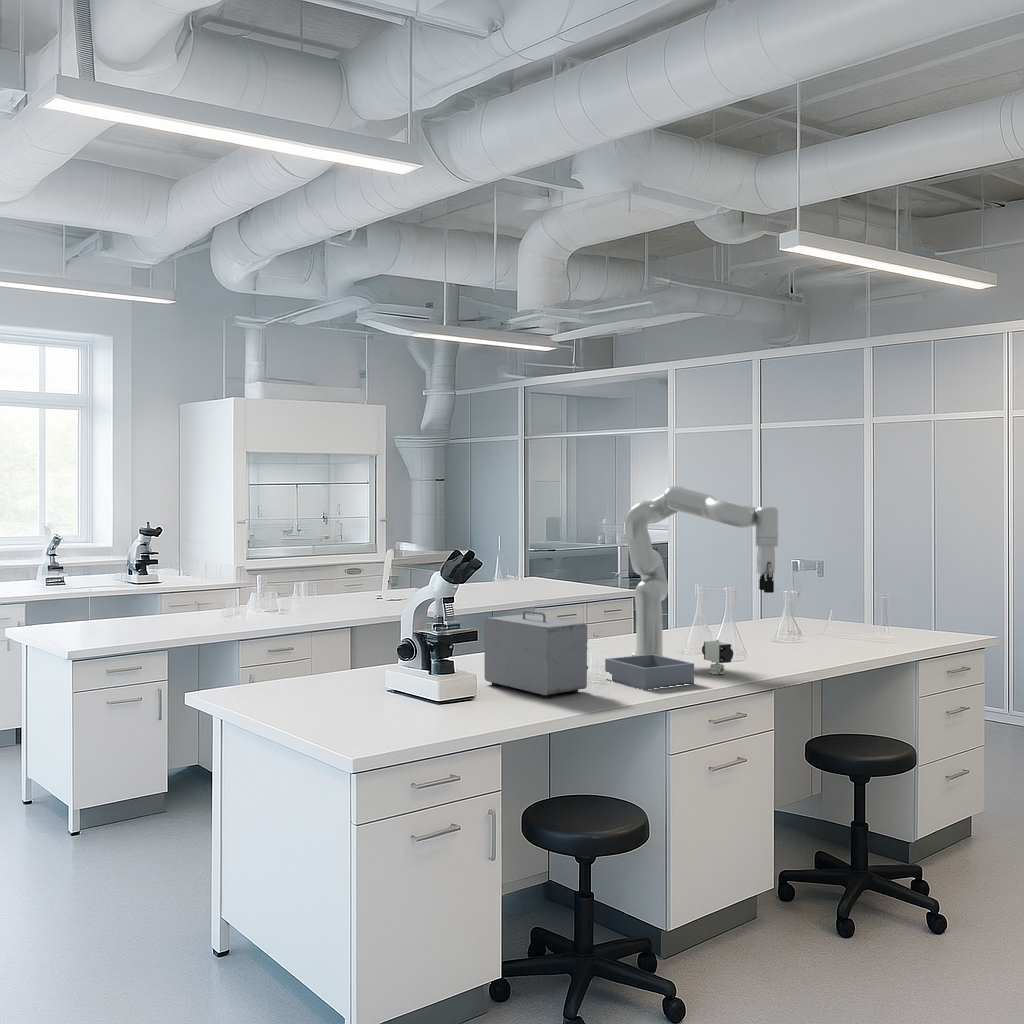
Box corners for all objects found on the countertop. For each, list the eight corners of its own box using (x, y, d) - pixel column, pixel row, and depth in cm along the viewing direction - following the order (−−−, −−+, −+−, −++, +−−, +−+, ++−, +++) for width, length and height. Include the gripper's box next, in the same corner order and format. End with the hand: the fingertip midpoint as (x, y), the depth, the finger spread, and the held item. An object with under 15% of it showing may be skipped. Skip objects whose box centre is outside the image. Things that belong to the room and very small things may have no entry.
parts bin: (605, 679, 330) (605, 658, 329) (652, 674, 339) (652, 654, 339) (645, 690, 310) (645, 668, 310) (694, 684, 320) (694, 663, 320)
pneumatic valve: (722, 677, 333) (723, 642, 333) (701, 672, 344) (701, 638, 343) (735, 676, 336) (735, 641, 336) (713, 670, 346) (713, 637, 346)
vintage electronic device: (591, 692, 307) (591, 613, 307) (547, 700, 296) (548, 618, 296) (527, 678, 332) (527, 604, 332) (484, 684, 321) (484, 608, 320)
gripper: (751, 540, 349) (751, 588, 350) (759, 543, 332) (759, 593, 332) (773, 541, 349) (772, 589, 349) (782, 543, 332) (782, 593, 332)
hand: (766, 591), depth 341 cm, fingers open, 9 cm apart
